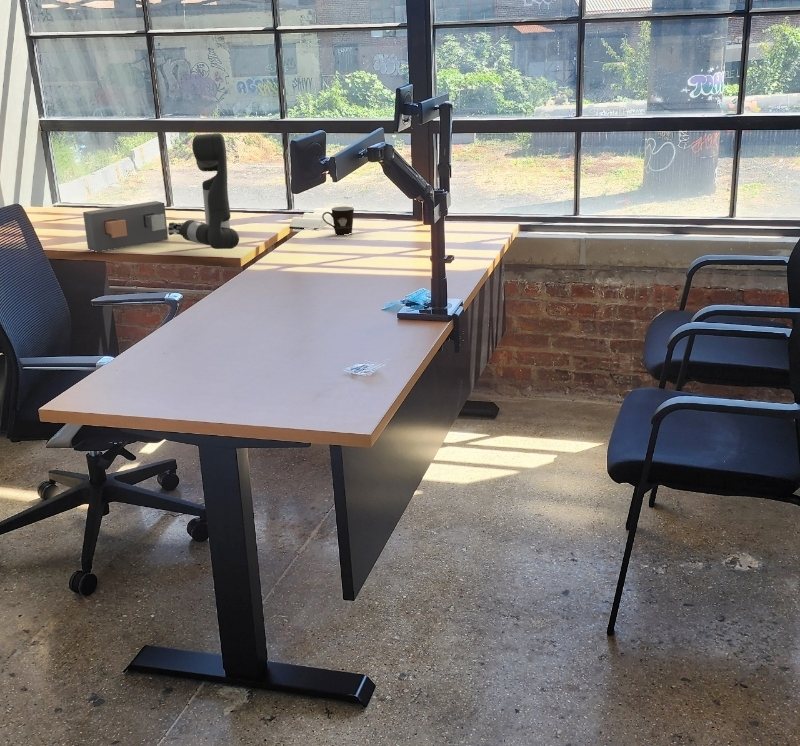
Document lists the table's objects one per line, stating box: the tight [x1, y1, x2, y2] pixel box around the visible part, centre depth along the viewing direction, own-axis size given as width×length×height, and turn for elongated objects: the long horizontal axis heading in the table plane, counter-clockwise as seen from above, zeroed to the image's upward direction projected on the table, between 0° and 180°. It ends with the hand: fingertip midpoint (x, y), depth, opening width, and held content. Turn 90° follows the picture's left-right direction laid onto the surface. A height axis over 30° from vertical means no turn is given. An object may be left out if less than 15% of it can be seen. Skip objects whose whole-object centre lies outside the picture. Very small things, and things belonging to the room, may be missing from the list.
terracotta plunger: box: [104, 220, 127, 238], centre depth 335 cm, size 10×6×6 cm, turn 44°
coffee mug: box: [322, 206, 355, 236], centre depth 357 cm, size 12×9×10 cm
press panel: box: [82, 200, 169, 252], centre depth 344 cm, size 6×30×14 cm, turn 134°
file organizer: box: [289, 202, 354, 230], centre depth 382 cm, size 13×35×5 cm, turn 159°
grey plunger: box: [143, 214, 166, 231], centre depth 346 cm, size 10×6×6 cm, turn 44°
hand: (170, 225), depth 337 cm, fingers closed
